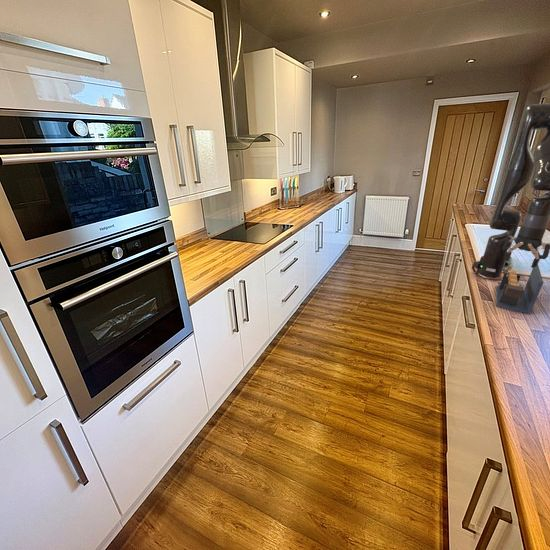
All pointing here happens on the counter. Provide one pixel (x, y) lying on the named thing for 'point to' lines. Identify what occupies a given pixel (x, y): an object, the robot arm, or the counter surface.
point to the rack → (527, 297)
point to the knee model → (509, 264)
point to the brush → (513, 286)
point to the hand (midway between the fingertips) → (519, 263)
